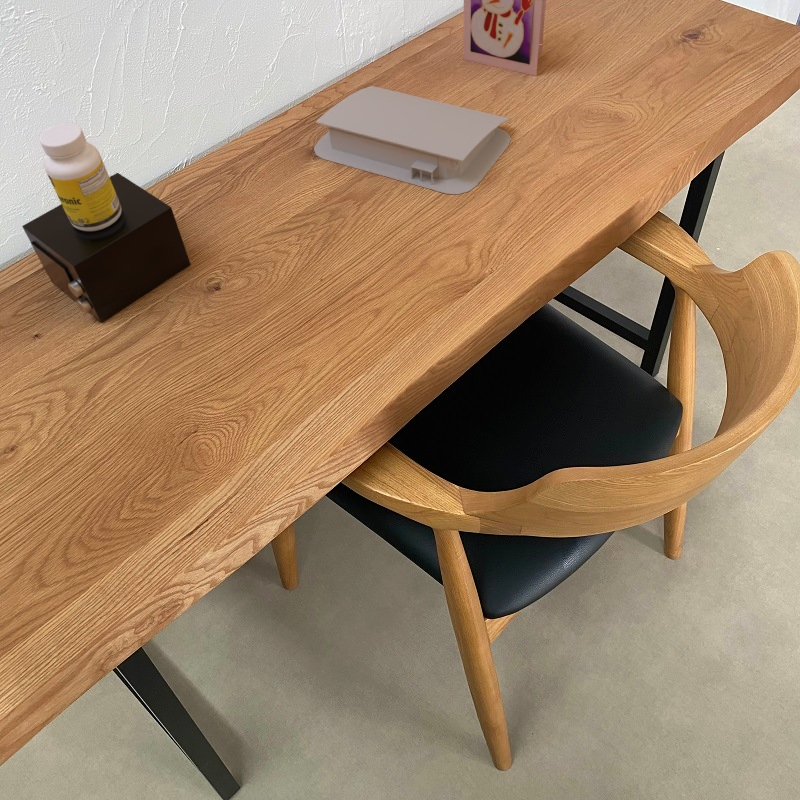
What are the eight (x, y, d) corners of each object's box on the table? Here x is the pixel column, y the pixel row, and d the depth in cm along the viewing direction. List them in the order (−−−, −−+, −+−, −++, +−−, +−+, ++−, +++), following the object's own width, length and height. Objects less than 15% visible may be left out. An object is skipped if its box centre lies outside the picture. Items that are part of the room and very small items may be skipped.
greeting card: (460, 62, 115) (460, -49, 103) (483, 39, 119) (486, -71, 107) (533, 78, 111) (542, -36, 99) (555, 54, 115) (565, -58, 103)
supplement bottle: (60, 219, 83) (20, 136, 76) (104, 194, 86) (69, 111, 78) (89, 240, 81) (50, 156, 73) (133, 214, 83) (100, 130, 75)
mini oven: (95, 327, 84) (66, 270, 78) (45, 287, 89) (14, 229, 83) (191, 265, 90) (171, 206, 83) (140, 229, 94) (117, 172, 88)
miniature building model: (466, 199, 94) (466, 170, 91) (305, 153, 102) (300, 126, 99) (518, 132, 102) (520, 104, 99) (365, 95, 110) (363, 68, 107)
